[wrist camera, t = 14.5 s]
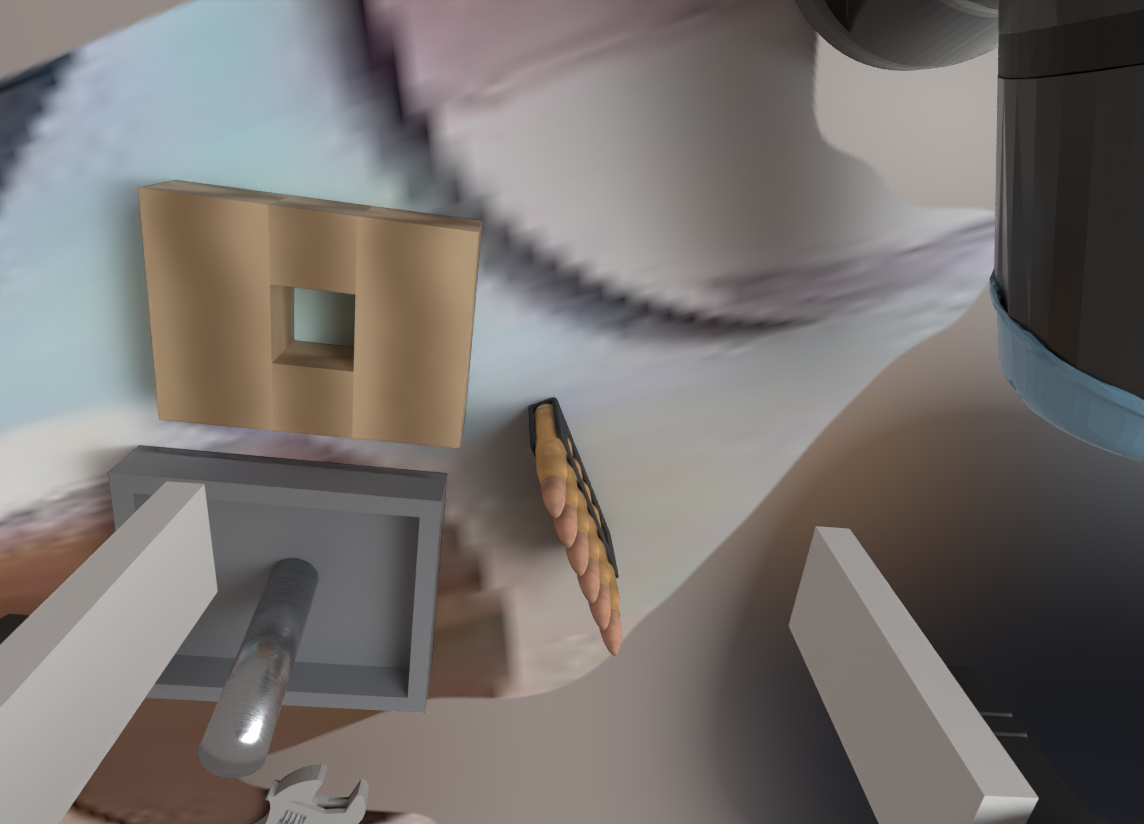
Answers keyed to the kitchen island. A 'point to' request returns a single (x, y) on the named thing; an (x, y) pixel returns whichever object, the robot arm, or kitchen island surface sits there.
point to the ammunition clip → (576, 516)
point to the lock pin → (260, 674)
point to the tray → (332, 546)
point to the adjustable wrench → (312, 800)
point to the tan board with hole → (266, 313)
